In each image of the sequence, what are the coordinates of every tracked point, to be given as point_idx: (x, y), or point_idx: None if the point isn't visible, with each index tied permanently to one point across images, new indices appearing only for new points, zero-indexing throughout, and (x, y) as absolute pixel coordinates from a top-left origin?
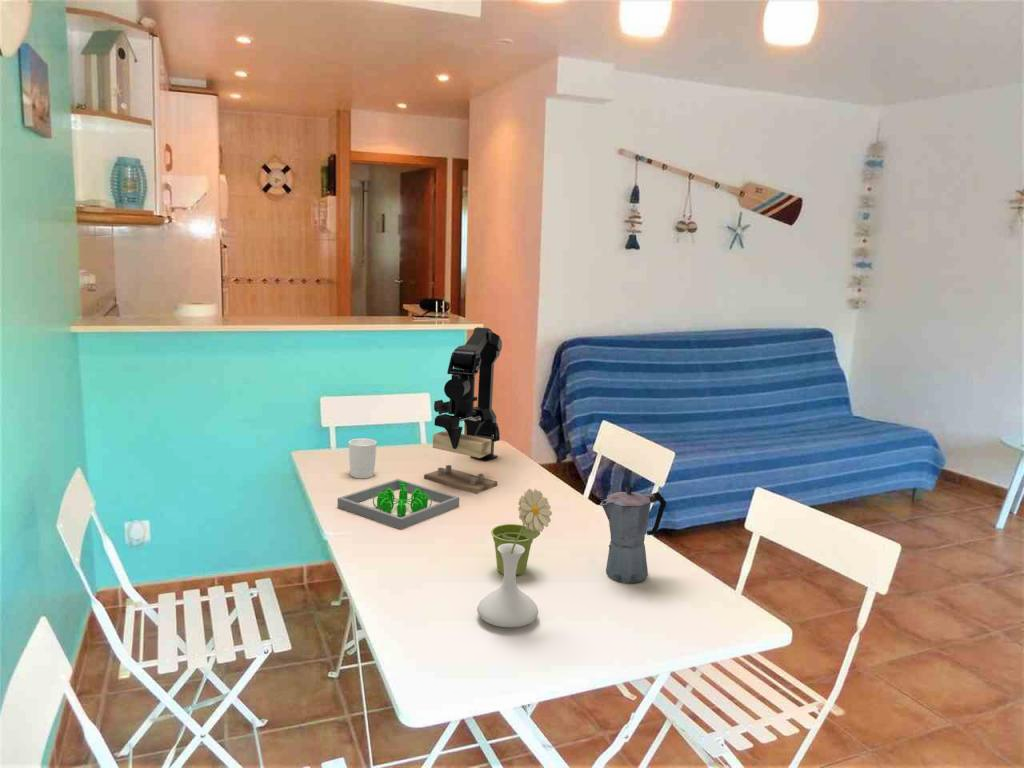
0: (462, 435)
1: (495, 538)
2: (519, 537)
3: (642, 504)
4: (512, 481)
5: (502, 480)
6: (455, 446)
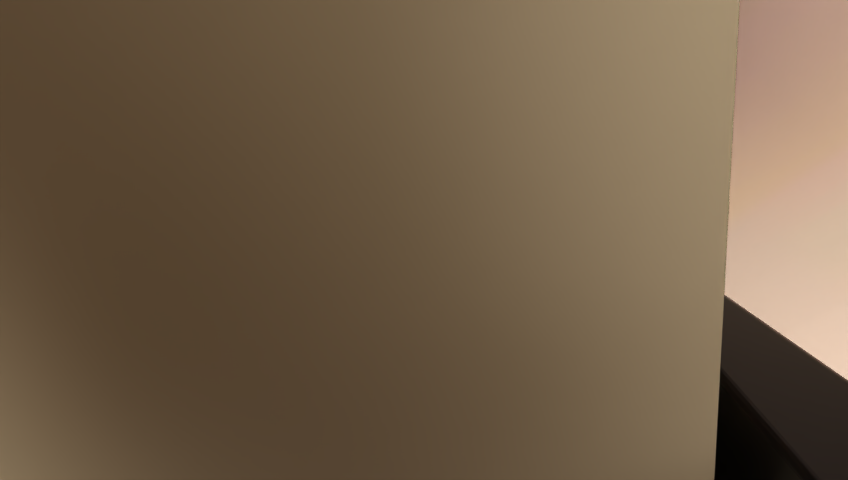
0: (509, 445)
1: None
2: None
3: None
4: (803, 329)
5: (772, 259)
6: None
